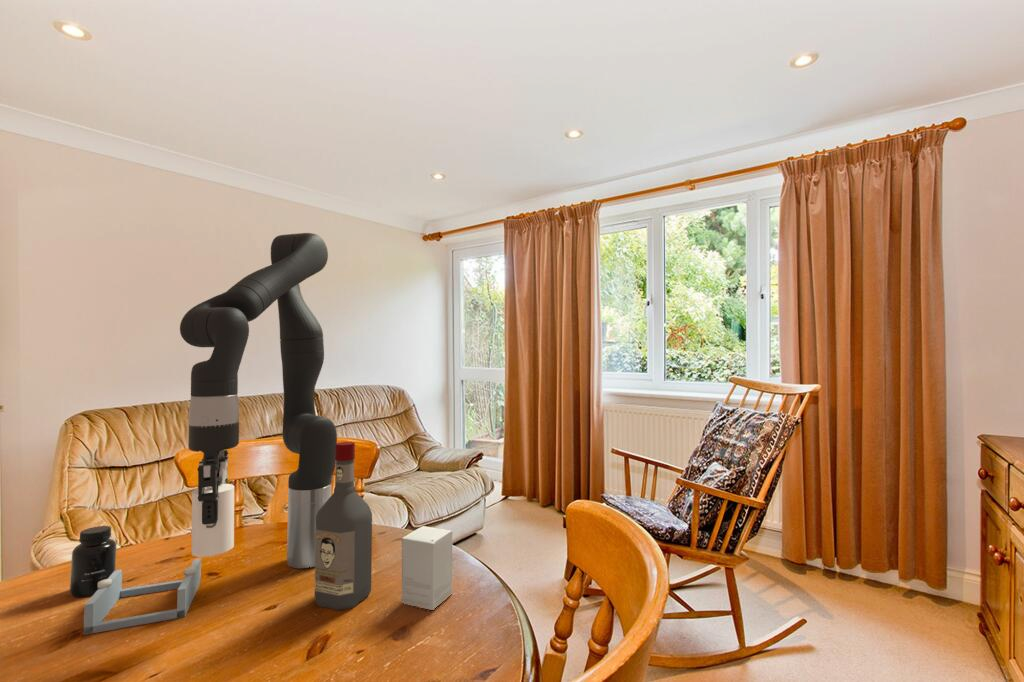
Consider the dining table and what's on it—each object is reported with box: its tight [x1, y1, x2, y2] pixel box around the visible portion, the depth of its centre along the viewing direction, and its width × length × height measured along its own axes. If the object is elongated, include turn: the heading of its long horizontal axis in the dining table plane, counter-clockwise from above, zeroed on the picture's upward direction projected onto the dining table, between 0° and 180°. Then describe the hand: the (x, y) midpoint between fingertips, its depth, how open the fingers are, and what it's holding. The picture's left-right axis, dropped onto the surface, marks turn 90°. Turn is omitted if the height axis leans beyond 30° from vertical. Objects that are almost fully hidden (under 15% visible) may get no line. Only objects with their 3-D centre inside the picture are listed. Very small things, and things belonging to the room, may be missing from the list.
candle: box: [191, 483, 235, 558], centre depth 84 cm, size 6×6×15 cm
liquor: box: [314, 441, 373, 611], centre depth 94 cm, size 9×9×30 cm
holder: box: [83, 558, 202, 636], centre depth 90 cm, size 15×14×6 cm
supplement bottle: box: [69, 525, 118, 598], centre depth 96 cm, size 7×7×12 cm
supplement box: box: [401, 525, 454, 610], centre depth 93 cm, size 7×7×13 cm
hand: (213, 516), depth 84 cm, fingers closed on candle, 6 cm apart
